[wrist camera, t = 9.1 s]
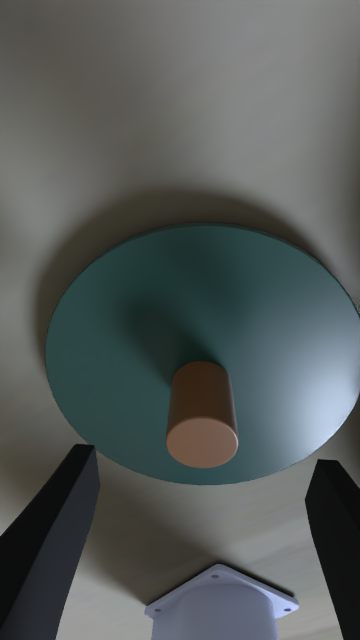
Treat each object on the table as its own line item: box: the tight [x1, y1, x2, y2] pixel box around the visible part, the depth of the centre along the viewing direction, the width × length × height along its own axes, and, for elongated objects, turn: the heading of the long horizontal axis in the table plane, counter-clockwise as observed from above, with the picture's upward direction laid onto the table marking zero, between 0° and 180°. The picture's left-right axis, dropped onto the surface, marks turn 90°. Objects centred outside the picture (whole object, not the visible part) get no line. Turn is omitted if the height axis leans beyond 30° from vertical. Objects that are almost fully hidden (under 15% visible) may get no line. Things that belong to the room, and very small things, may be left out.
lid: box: [45, 222, 360, 485], centre depth 14 cm, size 14×14×4 cm
